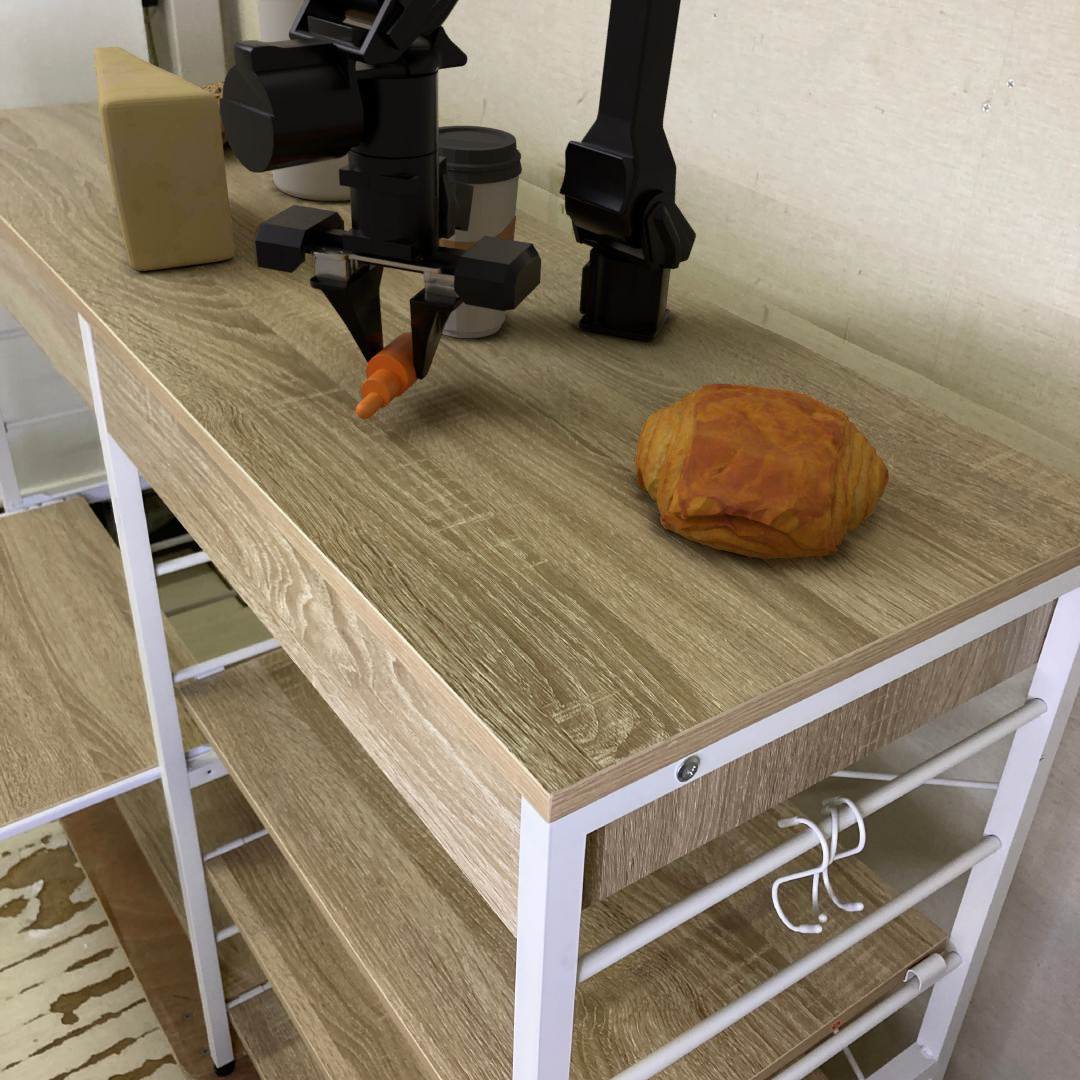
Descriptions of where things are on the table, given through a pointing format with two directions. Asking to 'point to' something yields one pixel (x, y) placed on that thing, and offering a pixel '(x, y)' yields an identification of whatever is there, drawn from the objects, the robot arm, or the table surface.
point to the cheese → (163, 163)
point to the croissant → (759, 471)
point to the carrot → (387, 376)
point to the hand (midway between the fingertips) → (399, 372)
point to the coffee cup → (481, 206)
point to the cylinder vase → (316, 179)
